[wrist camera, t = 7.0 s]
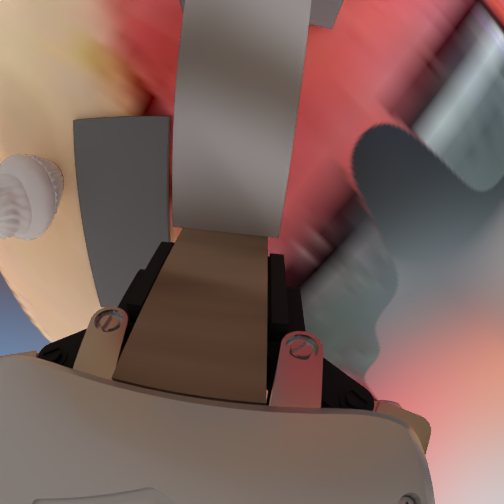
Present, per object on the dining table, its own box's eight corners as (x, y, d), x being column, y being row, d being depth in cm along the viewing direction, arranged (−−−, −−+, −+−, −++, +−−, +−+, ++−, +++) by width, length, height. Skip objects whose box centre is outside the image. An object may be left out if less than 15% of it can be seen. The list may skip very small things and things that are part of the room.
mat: (174, 317, 24) (173, 320, 24) (102, 303, 24) (100, 306, 23) (170, 115, 16) (168, 116, 15) (76, 119, 15) (73, 120, 15)
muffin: (23, 139, 16) (-42, 169, 10) (79, 144, 16) (11, 178, 10) (27, 210, 19) (-26, 253, 13) (80, 223, 20) (27, 275, 14)
